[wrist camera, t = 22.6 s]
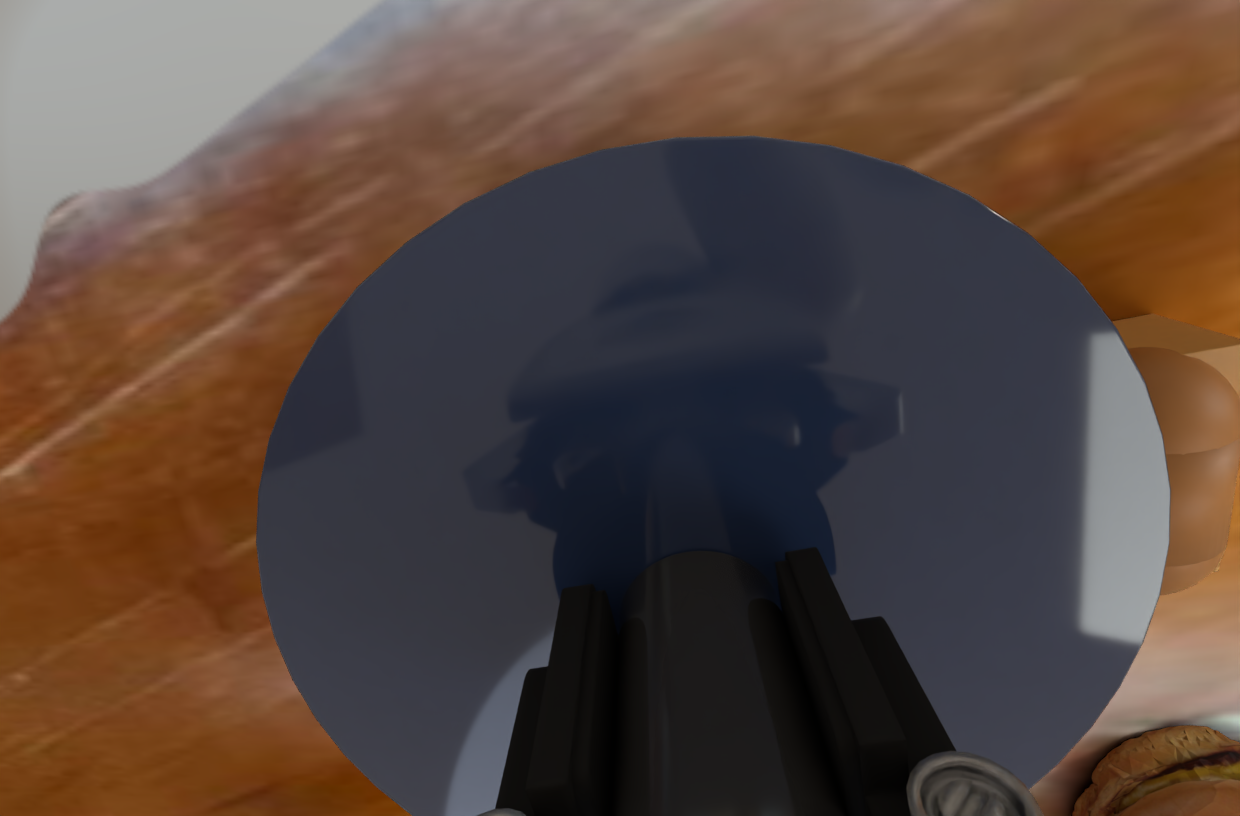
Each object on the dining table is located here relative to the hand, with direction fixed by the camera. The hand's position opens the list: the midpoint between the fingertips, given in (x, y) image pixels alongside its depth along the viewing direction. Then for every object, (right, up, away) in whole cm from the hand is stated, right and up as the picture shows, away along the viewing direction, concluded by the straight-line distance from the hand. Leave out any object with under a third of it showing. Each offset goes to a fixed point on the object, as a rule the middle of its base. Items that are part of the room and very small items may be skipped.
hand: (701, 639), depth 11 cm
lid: (0, 0, +1) cm, 1 cm away
